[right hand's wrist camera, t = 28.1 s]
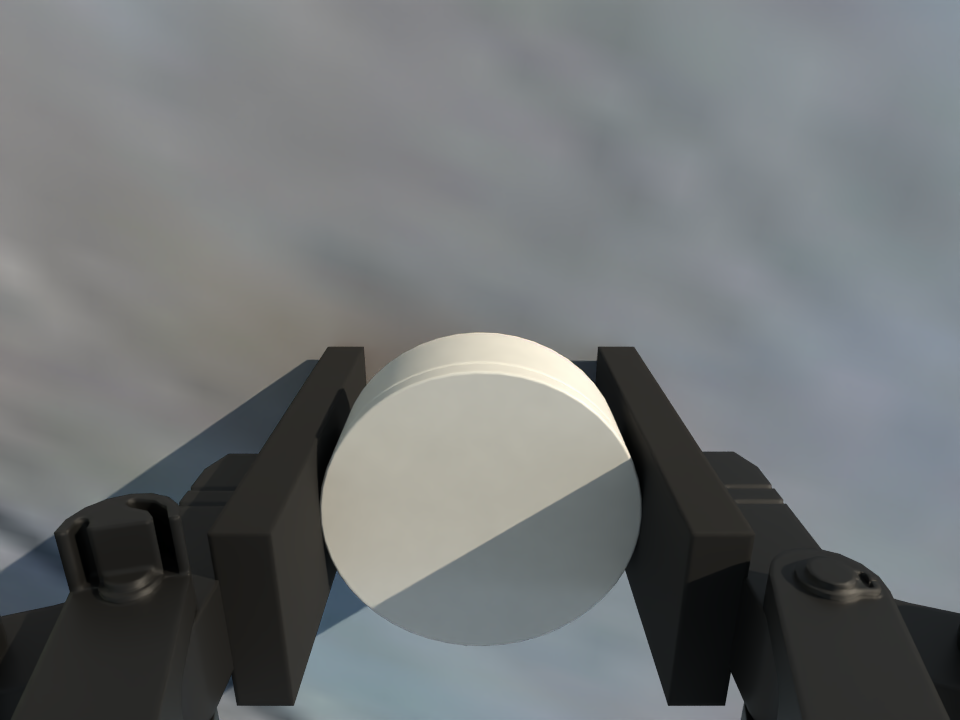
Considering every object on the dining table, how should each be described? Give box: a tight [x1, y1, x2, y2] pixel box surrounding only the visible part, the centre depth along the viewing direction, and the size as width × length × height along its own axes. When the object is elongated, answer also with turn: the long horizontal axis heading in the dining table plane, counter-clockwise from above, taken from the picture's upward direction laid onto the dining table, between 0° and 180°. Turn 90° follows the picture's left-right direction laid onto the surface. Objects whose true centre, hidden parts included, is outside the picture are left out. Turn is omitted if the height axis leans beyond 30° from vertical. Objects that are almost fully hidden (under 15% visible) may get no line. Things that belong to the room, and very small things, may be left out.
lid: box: [320, 333, 642, 646], centre depth 11 cm, size 5×5×2 cm
